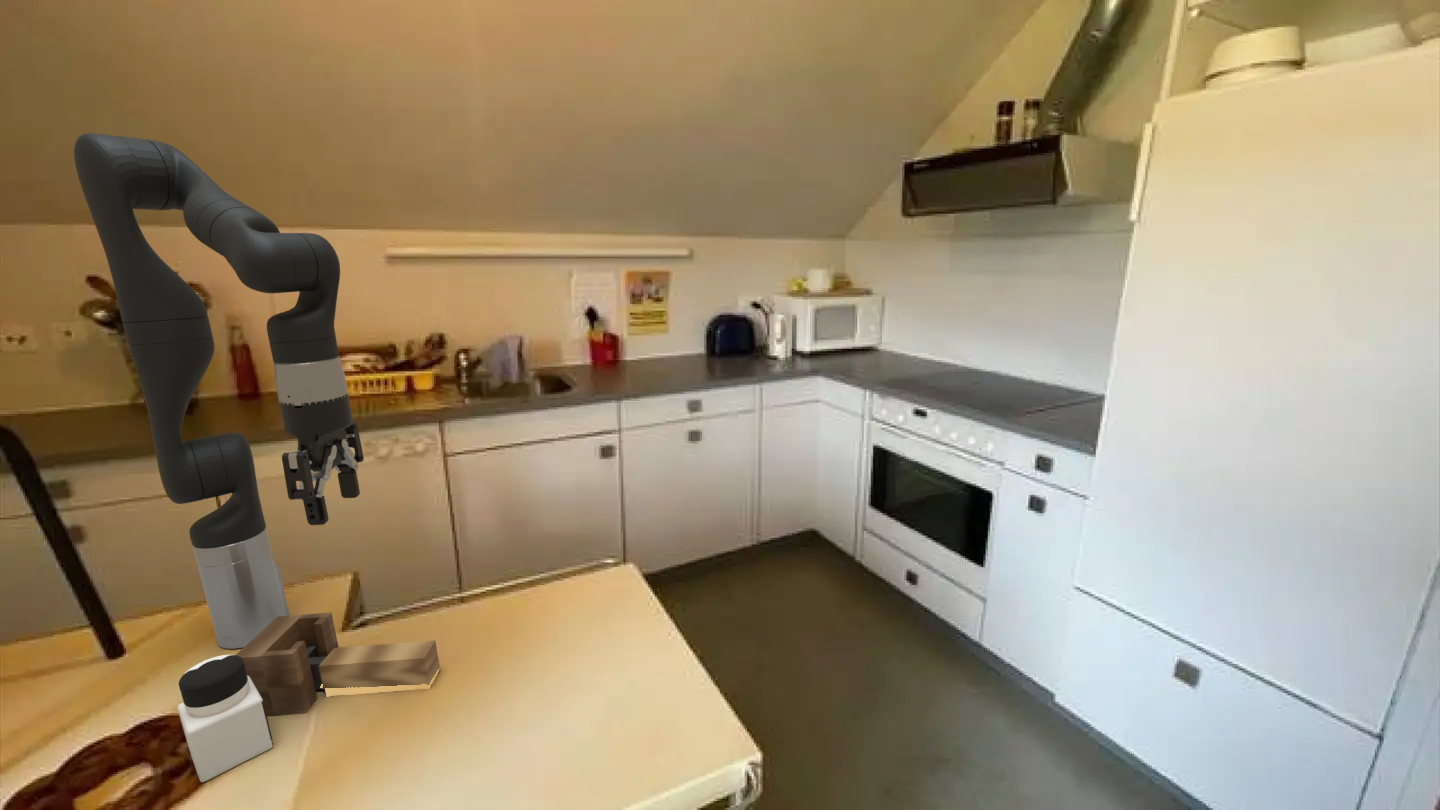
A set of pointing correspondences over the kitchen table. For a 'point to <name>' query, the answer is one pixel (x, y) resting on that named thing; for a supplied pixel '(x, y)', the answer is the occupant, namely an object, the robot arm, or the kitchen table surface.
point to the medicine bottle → (222, 715)
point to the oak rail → (375, 665)
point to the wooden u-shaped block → (288, 660)
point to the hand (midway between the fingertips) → (335, 509)
